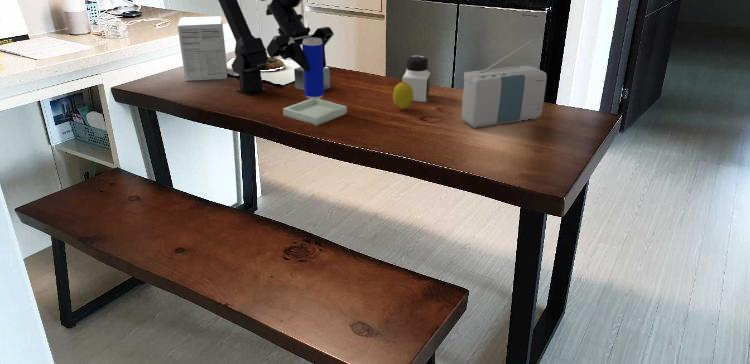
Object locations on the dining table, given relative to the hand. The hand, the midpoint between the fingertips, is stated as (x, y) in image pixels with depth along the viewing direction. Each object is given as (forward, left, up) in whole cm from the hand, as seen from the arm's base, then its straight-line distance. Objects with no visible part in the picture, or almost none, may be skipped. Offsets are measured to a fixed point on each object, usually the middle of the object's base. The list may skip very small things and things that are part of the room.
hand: (316, 68), depth 145 cm
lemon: (+15, +18, -13) cm, 27 cm away
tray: (-1, 0, -13) cm, 13 cm away
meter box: (-18, +17, -13) cm, 28 cm away
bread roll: (-46, +24, -13) cm, 53 cm away
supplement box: (-55, +6, -13) cm, 57 cm away
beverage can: (-1, 0, -8) cm, 8 cm away
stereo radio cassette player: (+40, +27, -13) cm, 50 cm away
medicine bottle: (+12, +29, -13) cm, 34 cm away
